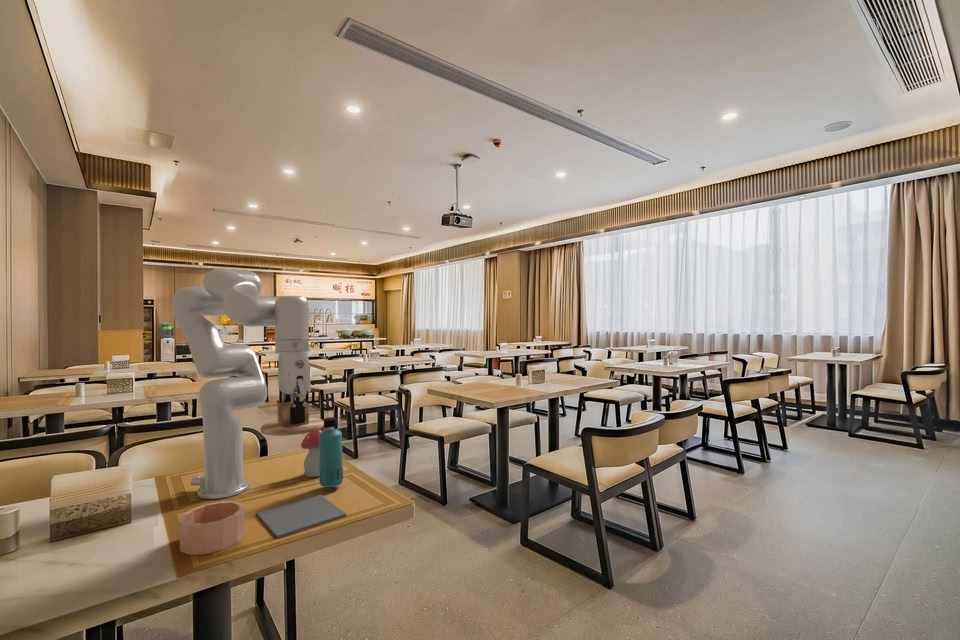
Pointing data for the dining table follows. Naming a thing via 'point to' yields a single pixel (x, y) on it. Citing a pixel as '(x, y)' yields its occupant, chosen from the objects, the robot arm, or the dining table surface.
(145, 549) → the dining table surface
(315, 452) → the decorative ornament
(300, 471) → the dining table surface
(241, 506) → the bowl
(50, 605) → the dining table surface
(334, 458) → the beverage bottle
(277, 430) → the lid
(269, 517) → the mat
